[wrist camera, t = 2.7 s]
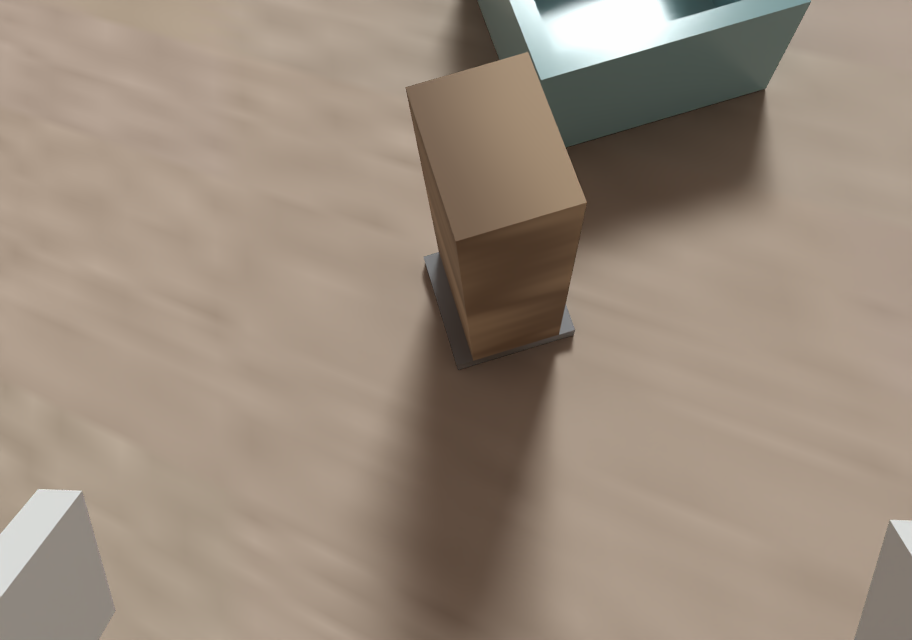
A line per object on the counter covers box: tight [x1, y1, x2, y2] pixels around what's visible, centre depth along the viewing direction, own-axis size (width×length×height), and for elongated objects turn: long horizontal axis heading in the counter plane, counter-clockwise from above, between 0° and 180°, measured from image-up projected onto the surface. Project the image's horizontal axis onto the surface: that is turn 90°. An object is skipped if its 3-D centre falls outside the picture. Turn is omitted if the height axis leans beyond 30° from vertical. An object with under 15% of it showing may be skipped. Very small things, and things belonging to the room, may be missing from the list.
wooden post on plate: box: [406, 52, 587, 370], centre depth 24 cm, size 4×4×11 cm
